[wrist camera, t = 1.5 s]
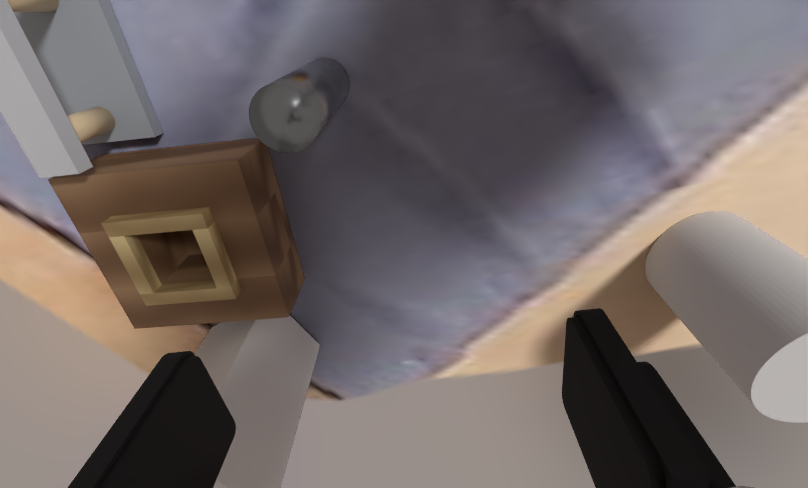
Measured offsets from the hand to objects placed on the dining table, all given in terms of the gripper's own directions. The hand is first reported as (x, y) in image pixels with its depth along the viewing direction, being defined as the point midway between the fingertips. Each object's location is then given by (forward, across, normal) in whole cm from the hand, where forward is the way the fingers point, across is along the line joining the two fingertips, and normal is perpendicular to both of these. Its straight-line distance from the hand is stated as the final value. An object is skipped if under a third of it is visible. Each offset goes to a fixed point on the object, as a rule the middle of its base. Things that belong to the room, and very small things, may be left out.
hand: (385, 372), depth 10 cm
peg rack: (+21, +19, -8) cm, 29 cm away
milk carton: (+21, +15, +16) cm, 30 cm away
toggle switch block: (+21, +16, +4) cm, 26 cm away
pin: (+20, +4, -5) cm, 21 cm away
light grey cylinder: (+21, -22, +12) cm, 33 cm away
